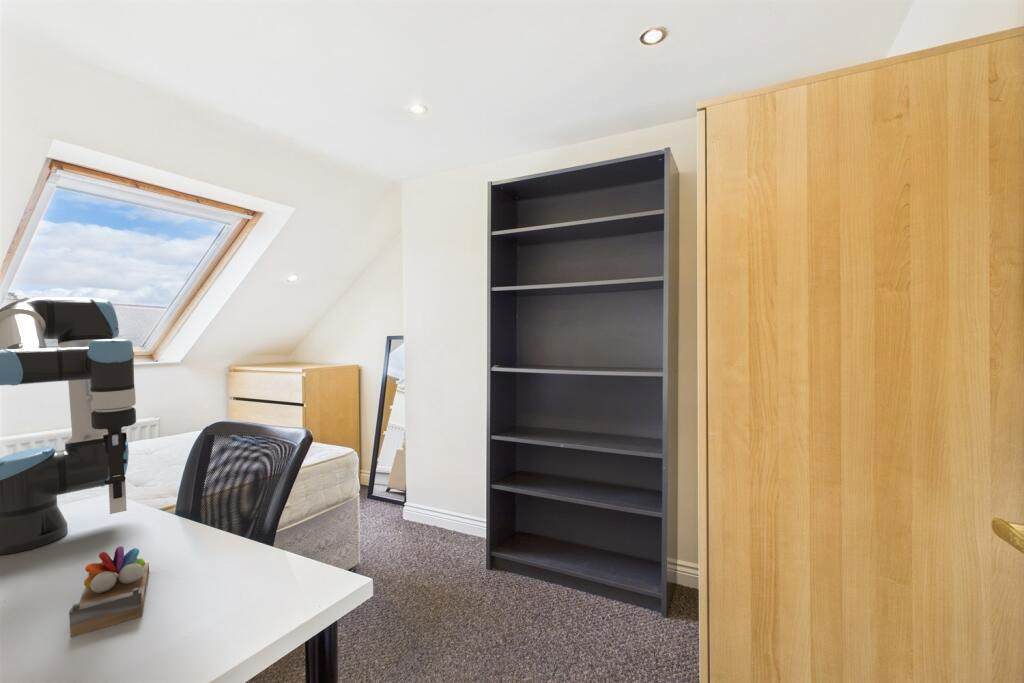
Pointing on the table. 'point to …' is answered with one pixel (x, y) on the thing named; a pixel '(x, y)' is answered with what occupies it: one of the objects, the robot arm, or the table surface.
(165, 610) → the table surface
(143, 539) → the table surface
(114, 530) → the table surface
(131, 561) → the rainbow wooden ball puzzle
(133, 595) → the wooden display stand
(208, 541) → the table surface
